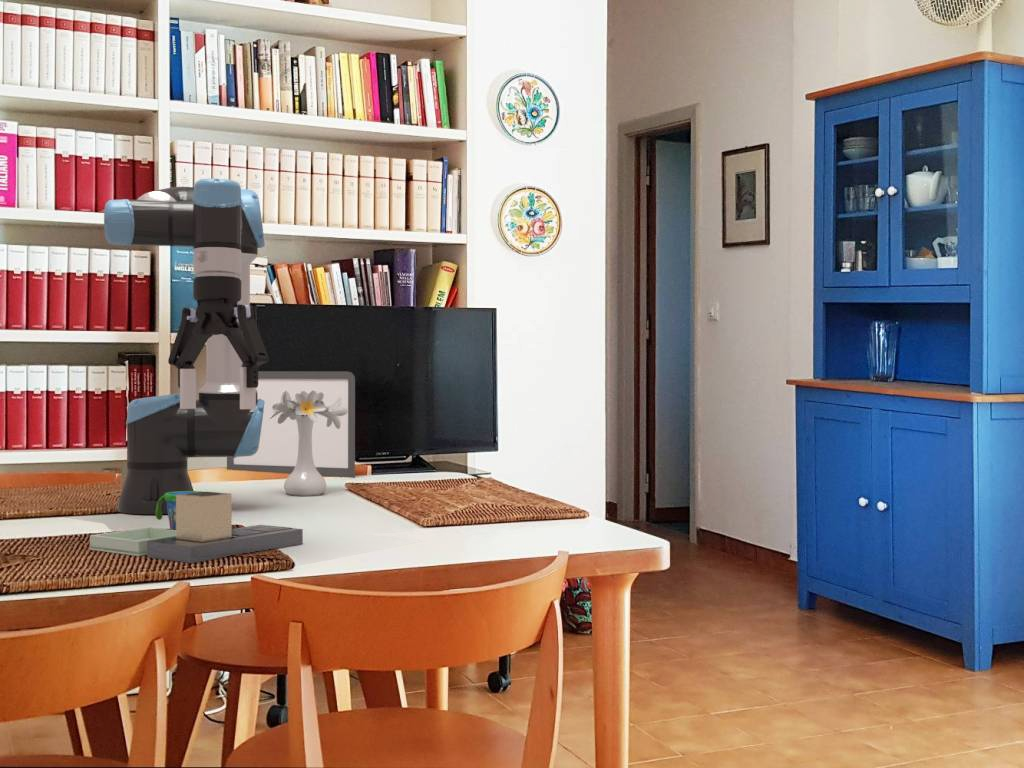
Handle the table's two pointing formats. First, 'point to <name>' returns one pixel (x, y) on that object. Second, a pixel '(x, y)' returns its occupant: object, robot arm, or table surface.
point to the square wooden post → (203, 517)
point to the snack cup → (170, 506)
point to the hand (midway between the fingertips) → (217, 409)
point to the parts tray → (129, 540)
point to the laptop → (281, 440)
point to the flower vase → (306, 438)
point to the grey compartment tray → (226, 544)
